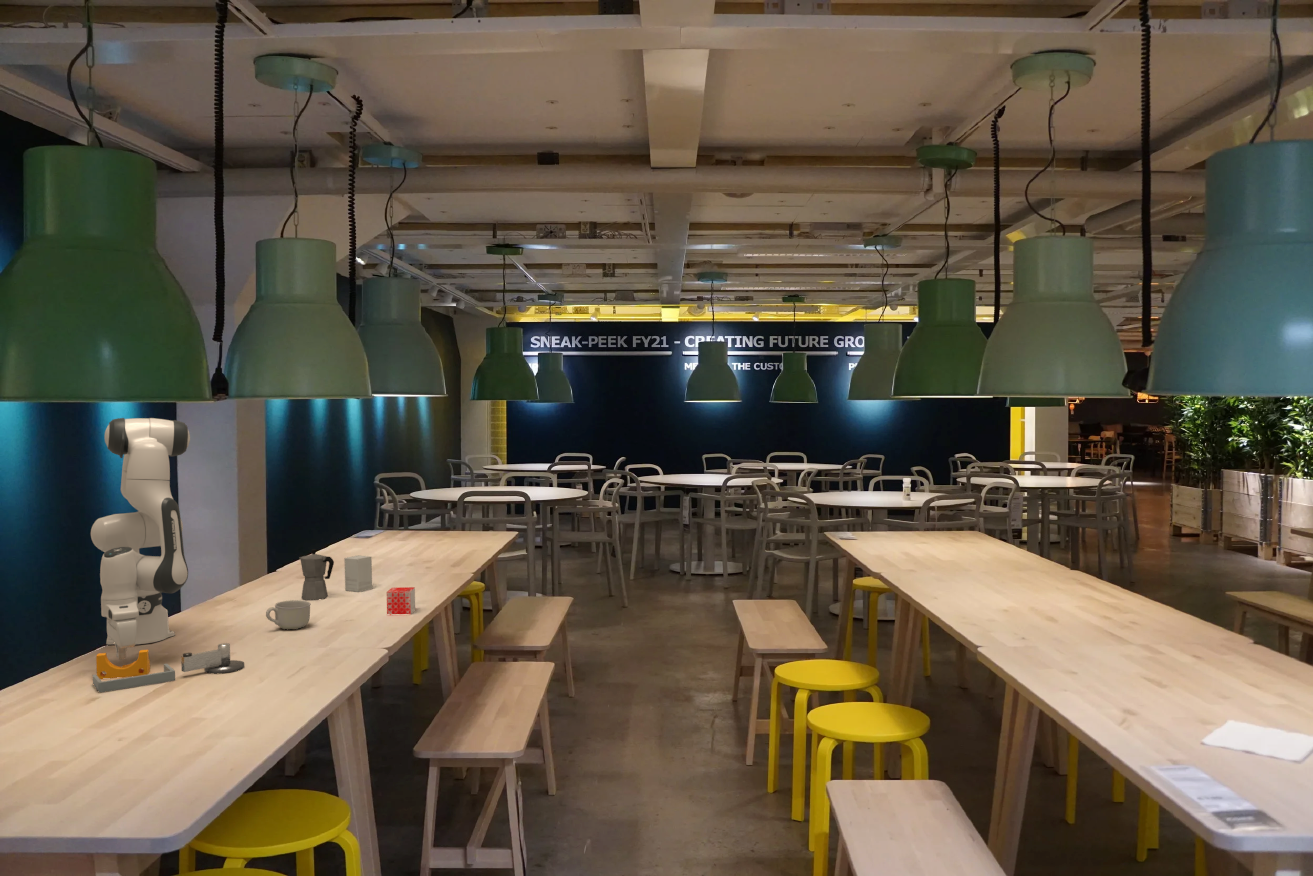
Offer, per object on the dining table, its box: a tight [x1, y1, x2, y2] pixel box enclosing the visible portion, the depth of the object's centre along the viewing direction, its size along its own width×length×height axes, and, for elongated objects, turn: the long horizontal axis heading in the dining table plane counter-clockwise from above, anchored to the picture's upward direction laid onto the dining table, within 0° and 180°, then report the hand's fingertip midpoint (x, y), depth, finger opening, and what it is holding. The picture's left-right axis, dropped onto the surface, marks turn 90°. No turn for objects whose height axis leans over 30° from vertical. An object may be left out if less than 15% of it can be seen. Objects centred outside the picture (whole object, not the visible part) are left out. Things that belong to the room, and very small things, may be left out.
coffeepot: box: [298, 548, 335, 601], centre depth 373 cm, size 15×9×18 cm, turn 68°
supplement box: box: [343, 555, 373, 593], centre depth 389 cm, size 7×7×13 cm
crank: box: [180, 642, 231, 673], centre depth 273 cm, size 12×3×5 cm, turn 137°
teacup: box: [265, 599, 311, 631], centre depth 325 cm, size 14×11×8 cm
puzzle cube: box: [386, 586, 416, 615], centre depth 348 cm, size 8×8×8 cm
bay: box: [92, 663, 176, 693], centre depth 264 cm, size 10×18×2 cm, turn 127°
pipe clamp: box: [95, 649, 151, 680], centre depth 271 cm, size 12×4×6 cm, turn 109°
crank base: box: [203, 659, 245, 675], centre depth 277 cm, size 10×10×1 cm
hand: (121, 658), depth 279 cm, fingers closed
